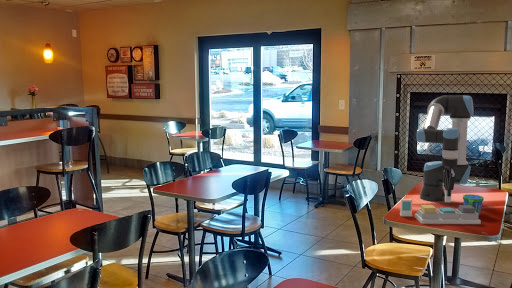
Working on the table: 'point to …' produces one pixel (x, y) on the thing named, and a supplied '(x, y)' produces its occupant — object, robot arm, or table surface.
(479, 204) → the snack cup
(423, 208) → the mustard button
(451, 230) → the table surface
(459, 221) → the board
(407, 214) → the sign
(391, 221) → the table surface
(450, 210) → the teal button
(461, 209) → the charcoal button
